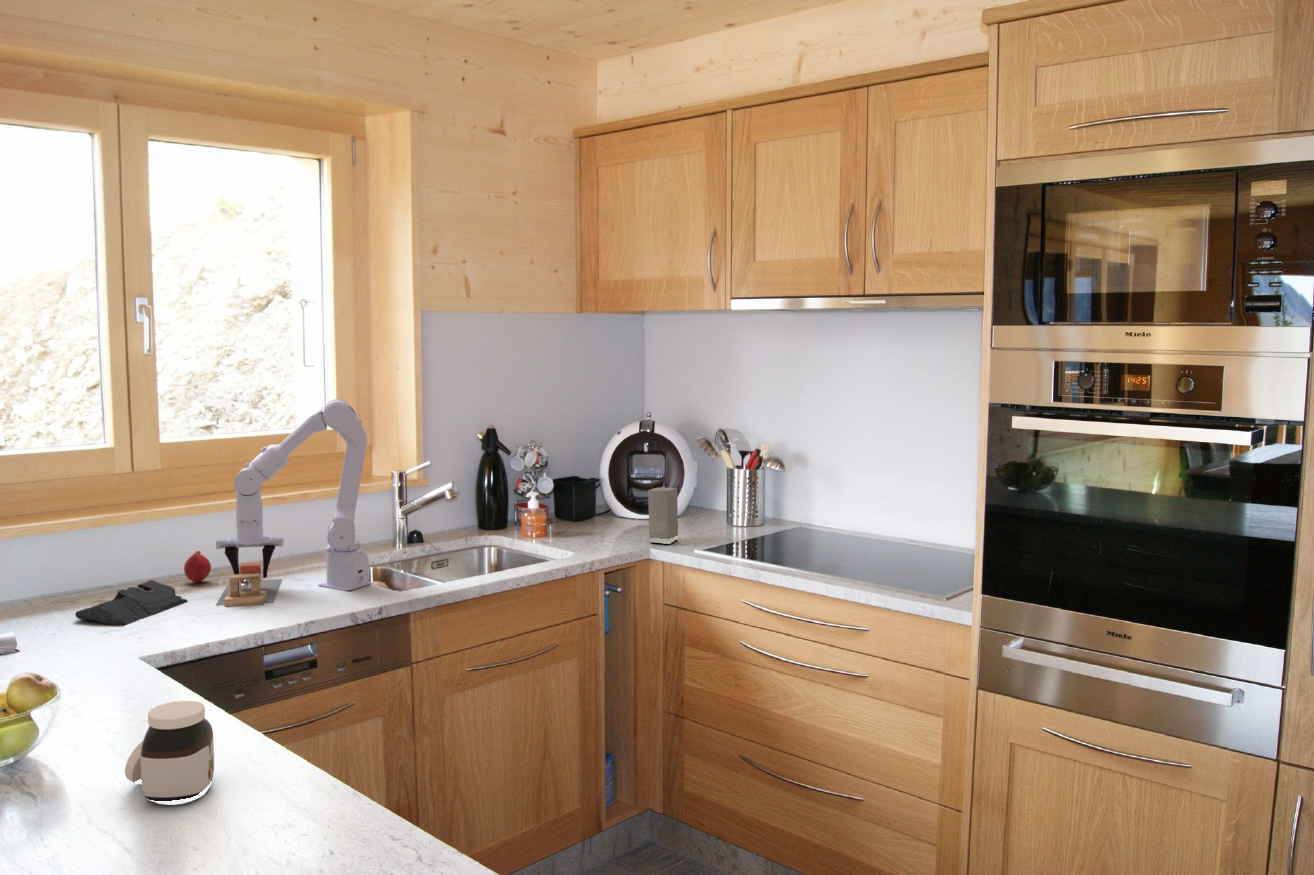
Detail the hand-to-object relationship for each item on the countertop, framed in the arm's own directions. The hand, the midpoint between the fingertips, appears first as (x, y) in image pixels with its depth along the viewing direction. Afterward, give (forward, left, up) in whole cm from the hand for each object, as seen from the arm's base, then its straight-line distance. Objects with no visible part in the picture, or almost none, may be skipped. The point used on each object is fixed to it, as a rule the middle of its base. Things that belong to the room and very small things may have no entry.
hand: (251, 577), depth 242 cm
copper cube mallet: (-4, +5, -1) cm, 6 cm away
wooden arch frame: (-7, +8, -3) cm, 11 cm away
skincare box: (-61, -96, -3) cm, 114 cm away
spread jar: (-71, +81, -3) cm, 108 cm away
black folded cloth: (+9, +25, -4) cm, 27 cm away
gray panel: (-1, +2, -3) cm, 4 cm away
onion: (+16, +1, -3) cm, 16 cm away
